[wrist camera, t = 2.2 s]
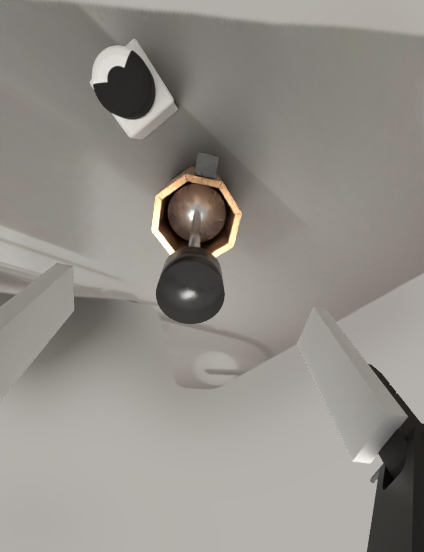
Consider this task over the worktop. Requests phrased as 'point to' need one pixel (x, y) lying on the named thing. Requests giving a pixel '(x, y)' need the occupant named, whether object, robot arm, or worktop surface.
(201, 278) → the plunger
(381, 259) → the worktop surface
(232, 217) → the press carafe
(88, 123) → the worktop surface
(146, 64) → the medicine bottle
